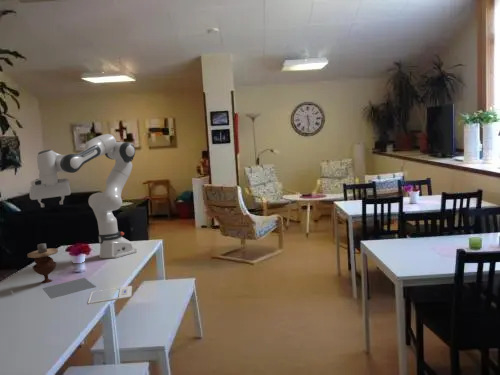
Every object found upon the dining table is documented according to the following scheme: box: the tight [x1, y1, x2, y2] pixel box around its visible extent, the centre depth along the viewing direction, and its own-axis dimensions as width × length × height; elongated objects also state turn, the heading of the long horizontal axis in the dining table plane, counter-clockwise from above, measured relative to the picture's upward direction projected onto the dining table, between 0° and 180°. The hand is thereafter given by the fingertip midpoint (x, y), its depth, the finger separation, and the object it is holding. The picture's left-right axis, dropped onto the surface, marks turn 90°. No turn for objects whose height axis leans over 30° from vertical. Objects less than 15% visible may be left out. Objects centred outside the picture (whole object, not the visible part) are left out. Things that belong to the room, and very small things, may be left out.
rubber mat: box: [42, 277, 97, 299], centre depth 210 cm, size 20×20×1 cm
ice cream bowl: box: [32, 256, 57, 284], centre depth 222 cm, size 11×11×15 cm
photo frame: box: [87, 285, 133, 305], centre depth 196 cm, size 15×1×18 cm
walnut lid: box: [26, 243, 59, 259], centre depth 221 cm, size 14×14×5 cm
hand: (52, 205), depth 236 cm, fingers open, 8 cm apart
